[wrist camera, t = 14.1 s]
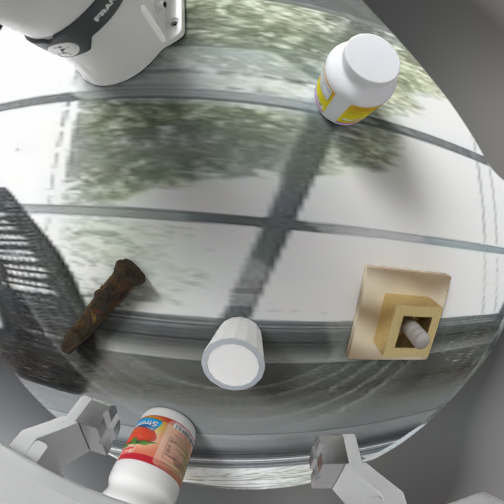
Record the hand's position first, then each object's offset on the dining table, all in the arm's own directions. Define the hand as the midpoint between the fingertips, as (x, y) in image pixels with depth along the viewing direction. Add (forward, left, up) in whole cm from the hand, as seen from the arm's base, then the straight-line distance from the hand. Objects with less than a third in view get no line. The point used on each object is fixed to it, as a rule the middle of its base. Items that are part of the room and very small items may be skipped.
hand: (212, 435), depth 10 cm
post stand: (+4, +19, -26) cm, 33 cm away
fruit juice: (+28, -11, -26) cm, 40 cm away
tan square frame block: (+4, +19, -25) cm, 31 cm away
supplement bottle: (-21, +8, -26) cm, 34 cm away
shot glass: (+9, -1, -26) cm, 28 cm away
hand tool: (+9, -20, -27) cm, 35 cm away
